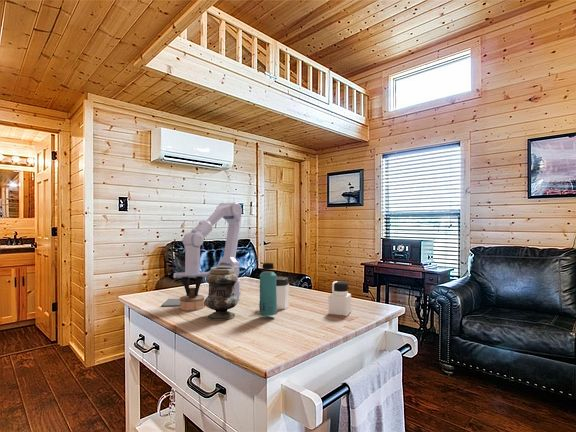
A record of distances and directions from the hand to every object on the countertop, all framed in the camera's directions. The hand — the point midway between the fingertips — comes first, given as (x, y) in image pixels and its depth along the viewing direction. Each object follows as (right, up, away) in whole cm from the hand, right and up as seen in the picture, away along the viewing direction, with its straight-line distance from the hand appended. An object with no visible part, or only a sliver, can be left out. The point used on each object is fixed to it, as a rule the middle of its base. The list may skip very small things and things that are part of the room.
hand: (192, 295), depth 134 cm
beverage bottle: (+32, -5, -14) cm, 35 cm away
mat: (-8, -5, +8) cm, 12 cm away
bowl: (0, -5, 0) cm, 5 cm away
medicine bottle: (+59, -5, -7) cm, 60 cm away
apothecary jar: (+14, -5, -13) cm, 20 cm away
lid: (0, -2, 0) cm, 2 cm away
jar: (+35, -5, +2) cm, 35 cm away
